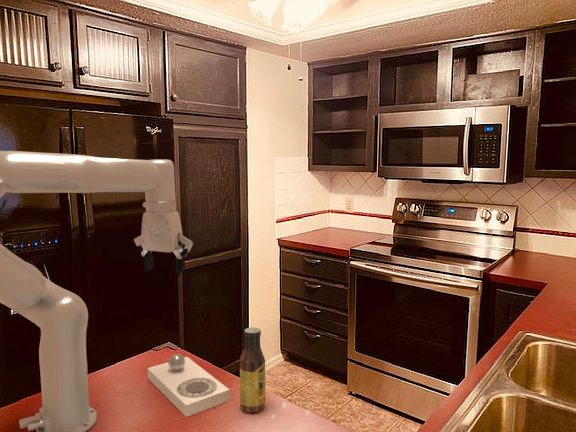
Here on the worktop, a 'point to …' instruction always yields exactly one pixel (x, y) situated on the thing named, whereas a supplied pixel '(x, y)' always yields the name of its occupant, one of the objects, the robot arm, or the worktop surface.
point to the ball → (176, 362)
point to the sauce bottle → (252, 373)
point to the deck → (189, 387)
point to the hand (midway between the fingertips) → (164, 271)
